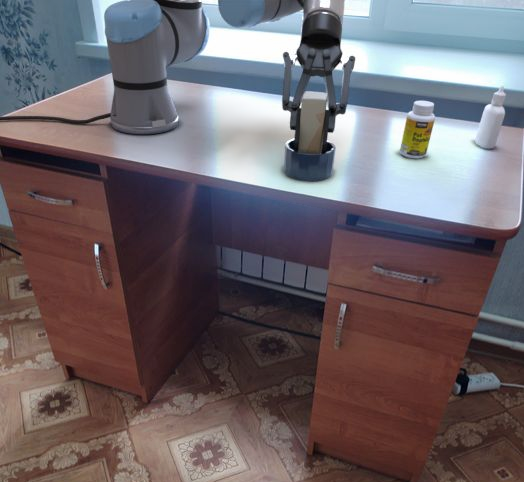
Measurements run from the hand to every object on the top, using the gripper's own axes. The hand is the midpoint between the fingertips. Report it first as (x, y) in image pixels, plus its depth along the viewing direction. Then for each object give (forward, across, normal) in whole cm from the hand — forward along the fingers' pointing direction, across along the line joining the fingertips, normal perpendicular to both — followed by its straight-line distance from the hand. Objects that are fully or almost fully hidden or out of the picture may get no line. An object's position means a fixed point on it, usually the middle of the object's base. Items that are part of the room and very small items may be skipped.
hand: (310, 146), depth 92 cm
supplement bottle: (-8, -22, -17) cm, 28 cm away
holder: (+2, 0, -7) cm, 7 cm away
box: (0, 0, -5) cm, 5 cm away
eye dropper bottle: (-14, -38, -23) cm, 47 cm away
